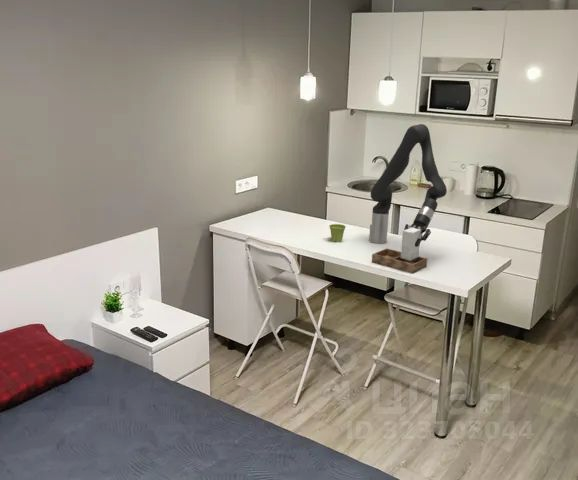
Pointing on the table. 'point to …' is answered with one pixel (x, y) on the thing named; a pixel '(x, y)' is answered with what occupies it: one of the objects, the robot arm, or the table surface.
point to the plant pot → (337, 232)
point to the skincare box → (410, 244)
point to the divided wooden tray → (398, 261)
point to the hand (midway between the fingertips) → (410, 244)
